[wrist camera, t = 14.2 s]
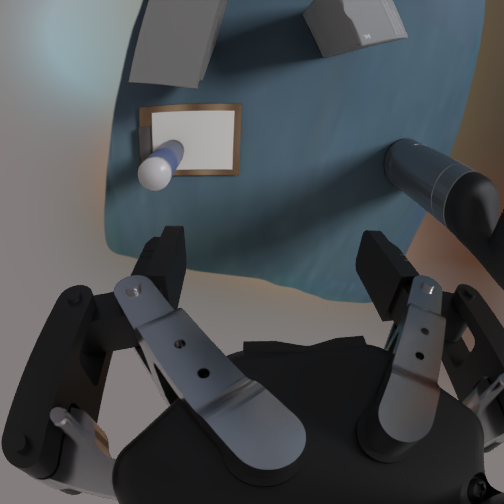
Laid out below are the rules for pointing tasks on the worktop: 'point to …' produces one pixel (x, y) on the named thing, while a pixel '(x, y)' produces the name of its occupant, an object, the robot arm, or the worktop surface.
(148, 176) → the marker
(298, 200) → the worktop surface
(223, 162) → the paper
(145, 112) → the clipboard
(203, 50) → the grey curved block
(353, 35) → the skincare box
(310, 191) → the worktop surface
